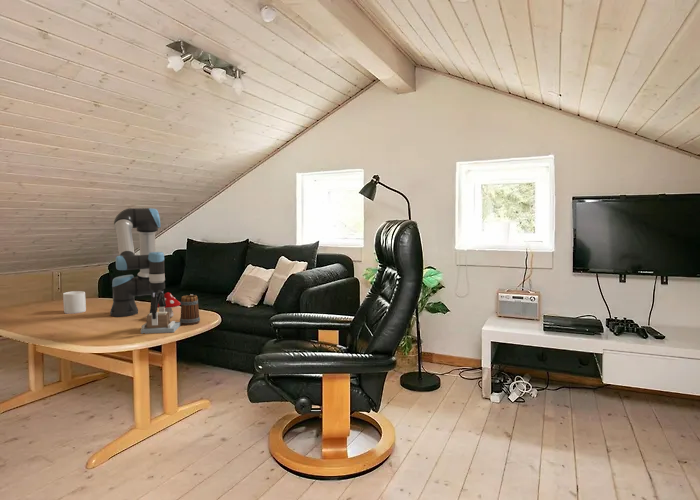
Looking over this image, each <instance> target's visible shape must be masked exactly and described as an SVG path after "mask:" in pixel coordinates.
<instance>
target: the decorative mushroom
mask: <svg viewBox="0 0 700 500" xmlns="http://www.w3.org/2000/svg"><path fill="white" fill-rule="evenodd" d="M164 298H165V303H166V306H164V307H165V312H170V319H171V318H173V317H174V311H173V308H177V307H181V301H179V300H178V299H176V297H174V295H172V293H171V292H169V291H168V292H165V293H164ZM159 307H160V306H159V303H158V307H157V309H159Z"/></svg>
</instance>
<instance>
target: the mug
mask: <svg viewBox="0 0 700 500" xmlns="http://www.w3.org/2000/svg"><path fill="white" fill-rule="evenodd" d="M180 299H181V300H180V303H181V305H180V319H179V322H180V325H183V326H192V325H194V326H195V325H197V324H198V325H199V323H200V322H201V316H200V309H199V299H198V296H197V294H195V295H194V294H193V293H192V294H191V293H190V295H187V294H186V295H183V296H181V298H180Z"/></svg>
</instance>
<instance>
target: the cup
mask: <svg viewBox="0 0 700 500" xmlns="http://www.w3.org/2000/svg"><path fill="white" fill-rule="evenodd" d="M62 298H63V299H62V300H63V301H62V302H63V312H64V314H66V315H67V314H68V315H70V314H71V315H72V314H81V313H84V312H86V311H87V304H86V303H87V302H86V292H85V291H84V290H72V291H67V292H66V291H65V292H63V293H62Z"/></svg>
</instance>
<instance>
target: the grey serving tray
mask: <svg viewBox="0 0 700 500" xmlns="http://www.w3.org/2000/svg"><path fill="white" fill-rule="evenodd" d="M180 327H181V323H180V321H176V320H171V321H170V324H169V325H168V327H164V328H147V321H146V322H145V323H144V324H142V325H141V329H140V334H142V335H143V333H145V334H166V333H167V334H168V333H169V334H170V333H172V334H173V333H175V332H176V331H177V330H178V329H179V328H180Z"/></svg>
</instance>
